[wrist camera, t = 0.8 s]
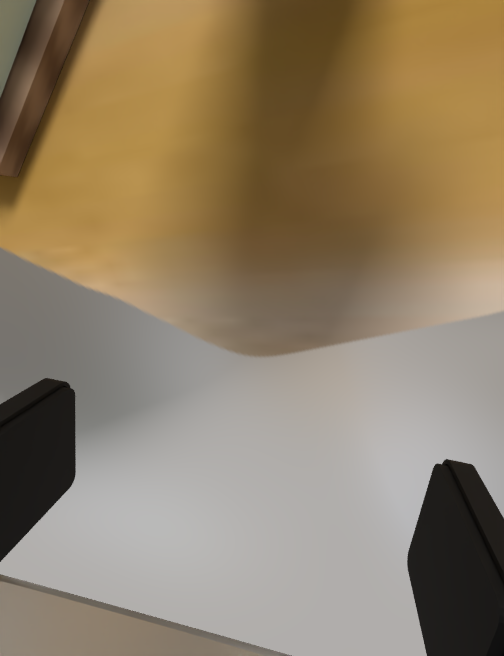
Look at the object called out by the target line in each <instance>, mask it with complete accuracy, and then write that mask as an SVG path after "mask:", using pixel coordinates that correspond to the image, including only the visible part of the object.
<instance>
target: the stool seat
mask: <svg viewBox="0 0 504 656" xmlns="http://www.w3.org/2000/svg"><path fill="white" fill-rule="evenodd" d="M89 1H90V0H36V3H35V5H34V8H33V11H32V14H31V16H30V19H29V22H28V24H27V27H26V30H25V32H24V35H23V38H22V41H21V43H20V46H19V49H18V51H17V54H16V57H15V59H14V62H13V65H12V68H11V70H10V73H9V76H8V78H7V81H6V84H5V86H4V89H3V92H2V95H1V97H0V175H5V176H13V177H17V176H18V174H19V171H20V169H21V167H22V164H23V162H24V159H25V157H26V154H27V152H28V149H29V147H30V145H31V142H32V140H33V137H34V135H35V132H36V130H37V128H38V125H39V123H40V120H41V118H42V115H43V113H44V110H45V108H46V106H47V103H48V101H49V98H50V96H51V93H52V91H53V88H54V86H55V84H56V81H57V79H58V76H59V74H60V71H61V69H62V66H63V64H64V62H65V59H66V57H67V54H68V52H69V49H70V47H71V45H72V42H73V40H74V37H75V35H76V32H77V30H78V27H79V25H80V23H81V20H82V18H83V15H84V13H85V10H86V8H87V5H88V3H89Z"/></svg>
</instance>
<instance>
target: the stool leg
mask: <svg viewBox="0 0 504 656" xmlns="http://www.w3.org/2000/svg"><path fill="white" fill-rule="evenodd" d="M35 3H36V0H0V97H1V95H2V92H3V89H4V86H5V84H6V81H7V78H8V76H9V73H10V70H11V68H12V65H13V62H14V59H15V57H16V54H17V51H18V49H19V46H20V43H21V41H22V38H23V35H24V32H25V30H26V27H27V24H28V22H29V19H30V16H31V14H32V11H33V8H34V5H35Z"/></svg>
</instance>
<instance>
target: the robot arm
mask: <svg viewBox="0 0 504 656" xmlns="http://www.w3.org/2000/svg"><path fill="white" fill-rule="evenodd" d="M74 478H75V392H74V390H73V389H71V388H70V385H69V384H68V383H67V382H63V381H58V380H54V379H48V378H45V379H43V380H41V381H39V382H38V383H36V384H34V385H32V386H31V387H29V388H28V389H26V390H24V391H22V392H21V393H19V394H17V395H15V396H14V397H12V398H10V399H9V400H7V401H6V402H4V403H2V404H0V562H1V560H2V559H3V558H4V557H5V556H6V555H7V554H8V553H9V552H10V551H11V550H12V549H13V548H14V547H15V546H16V544H17V543H18V542H19V541H20V540H21V539H22V538H23V537H24V536H25V535H26V534H27V533H28V532H29V531H30V529H31V528H32V527H33V526H34V525H35V524H36V523H37V522H38V521H39V520H40V519H41V518H42V517H43V516H44V515H45V514H46V512H47V511H48V510H49V509H50V508H51V507H52V506H53V505H54V504H55V503H56V502H57V501H58V500H59V499H60V498H61V496H62V495H63V494H64V493H65V492H66V491H67V490H68V489H69V488H70V487H71V485H72V483H73V481H74ZM407 562H408V572H409V576H410V581H411V585H412V590H413V594H414V599H415V603H416V607H417V612H418V617H419V621H420V626H421V631H422V635H423V639H424V644H425V649H426V653H427V656H504V518H503V516H502V515H501V513H500V511H499V509H498V508H497V506H496V504H495V502H494V501H493V499H492V497H491V495H490V494H489V492H488V490H487V488H486V487H485V485H484V483H483V481H482V480H481V478H480V476H479V474H478V472H477V471H476V469H475V467H474V466H473V465H472V464H467V463H463V462H458V461H453V460H448V459H446V460H445V461H444V462H443V463H442V464H436V465H435V466H434V468H433V471H432V475H431V478H430V481H429V485H428V488H427V491H426V495H425V498H424V501H423V505H422V508H421V512H420V515H419V518H418V522H417V525H416V528H415V532H414V535H413V538H412V542H411V545H410V548H409V552H408V561H407ZM0 656H290V655H287V654H283V653H280V652H276V651H273V650H270V649H266V648H263V647H259V646H256V645H252V644H249V643H245V642H241V641H238V640H235V639H231V638H227V637H224V636H220V635H217V634H213V633H209V632H206V631H203V630H199V629H196V628H192V627H188V626H185V625H181V624H178V623H174V622H171V621H167V620H164V619H160V618H157V617H153V616H149V615H146V614H142V613H139V612H135V611H131V610H128V609H124V608H121V607H117V606H113V605H110V604H106V603H103V602H99V601H96V600H92V599H88V598H85V597H81V596H78V595H74V594H70V593H67V592H63V591H59V590H56V589H52V588H48V587H45V586H41V585H37V584H34V583H30V582H26V581H23V580H19V579H15V578H11V577H8V576H4V575H0Z"/></svg>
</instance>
